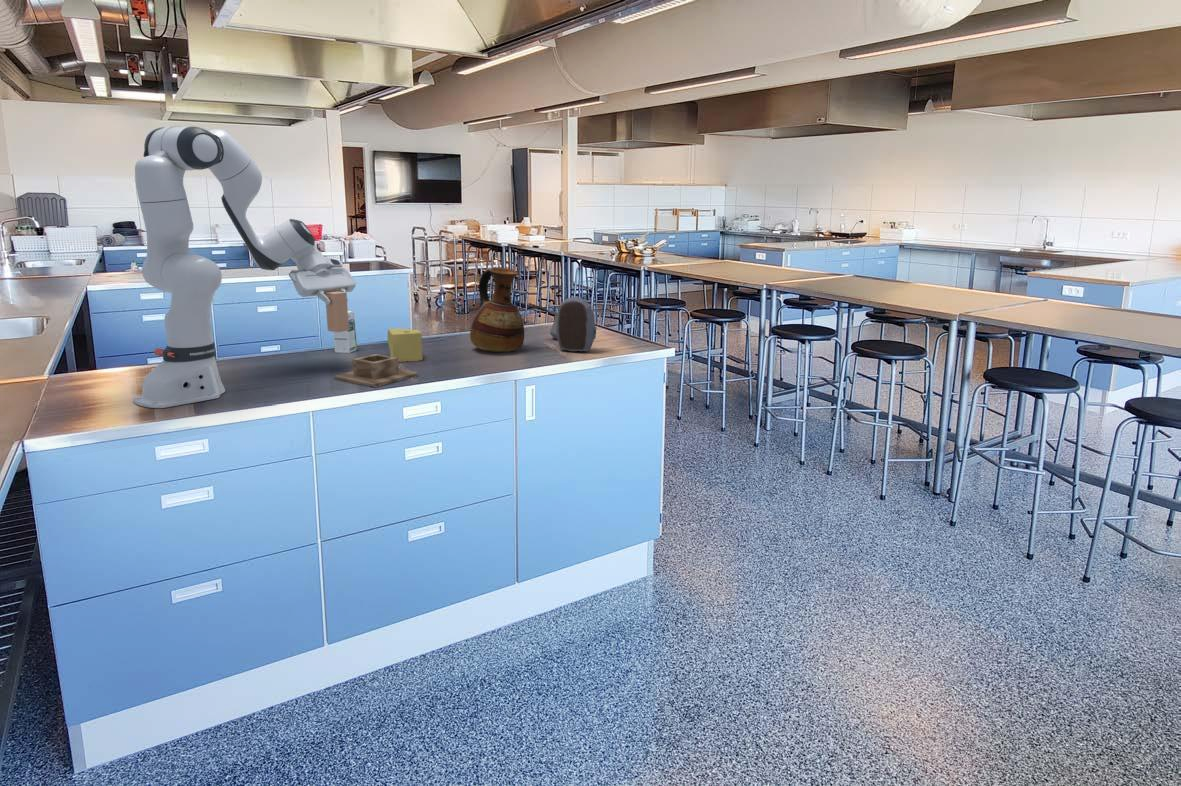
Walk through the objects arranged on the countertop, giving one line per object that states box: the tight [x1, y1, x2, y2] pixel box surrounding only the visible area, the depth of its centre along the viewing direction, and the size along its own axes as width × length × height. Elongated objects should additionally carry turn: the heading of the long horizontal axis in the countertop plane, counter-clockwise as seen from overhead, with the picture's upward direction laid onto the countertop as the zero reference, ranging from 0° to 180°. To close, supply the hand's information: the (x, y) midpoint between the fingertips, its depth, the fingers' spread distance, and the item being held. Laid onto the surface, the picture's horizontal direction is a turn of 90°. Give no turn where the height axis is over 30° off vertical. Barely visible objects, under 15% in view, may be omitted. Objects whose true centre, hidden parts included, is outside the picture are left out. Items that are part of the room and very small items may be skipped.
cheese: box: [387, 327, 423, 363], centre depth 253 cm, size 10×11×10 cm
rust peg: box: [325, 291, 349, 333], centre depth 232 cm, size 4×4×12 cm
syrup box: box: [332, 309, 358, 354], centre depth 262 cm, size 6×6×14 cm
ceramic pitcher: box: [469, 267, 525, 353], centre depth 267 cm, size 20×20×30 cm
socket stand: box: [332, 353, 419, 388], centre depth 228 cm, size 18×18×6 cm
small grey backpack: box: [556, 296, 597, 353], centre depth 269 cm, size 15×8×20 cm, turn 72°
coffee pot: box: [526, 302, 560, 340], centre depth 289 cm, size 21×12×15 cm, turn 115°
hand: (337, 302), depth 230 cm, fingers closed on rust peg, 4 cm apart
